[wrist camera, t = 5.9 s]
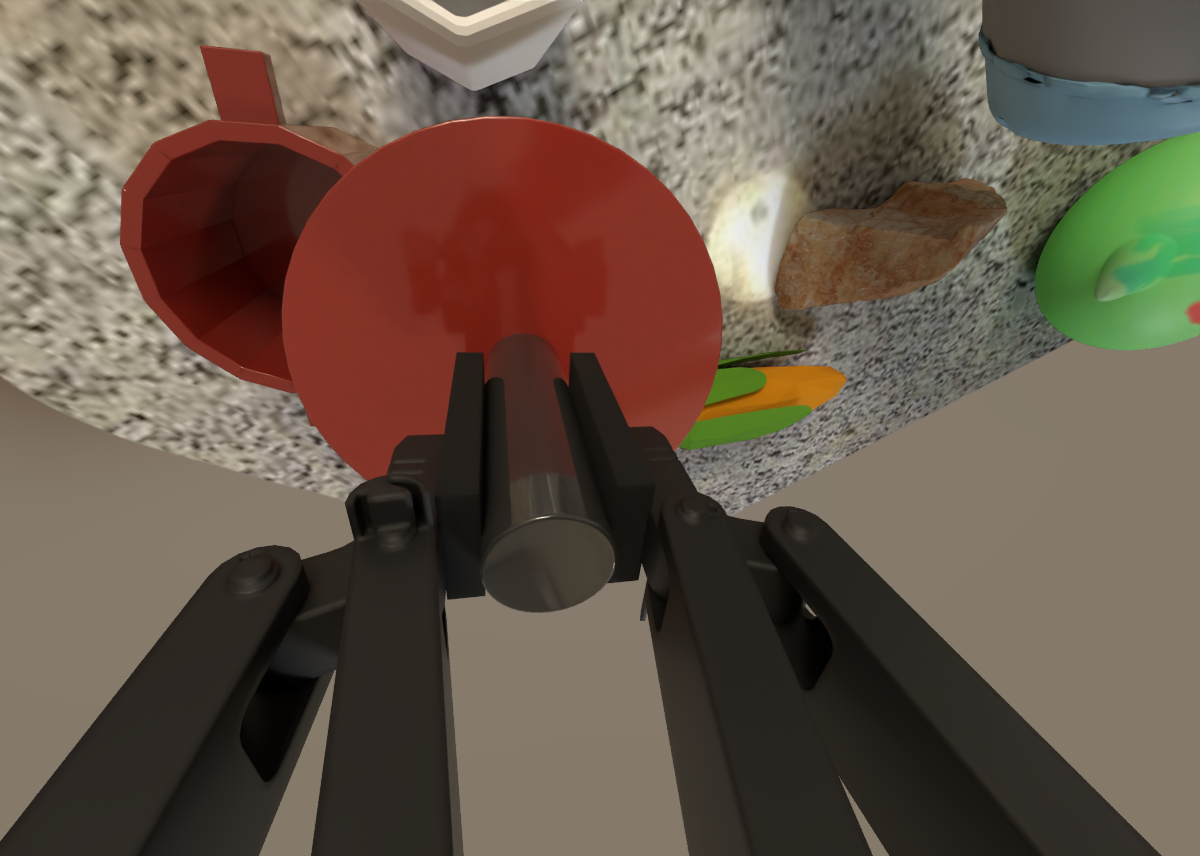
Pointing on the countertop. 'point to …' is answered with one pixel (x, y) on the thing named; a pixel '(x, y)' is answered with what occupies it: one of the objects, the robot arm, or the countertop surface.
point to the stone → (885, 244)
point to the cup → (474, 34)
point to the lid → (503, 324)
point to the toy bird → (1129, 254)
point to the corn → (760, 399)
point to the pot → (230, 217)
